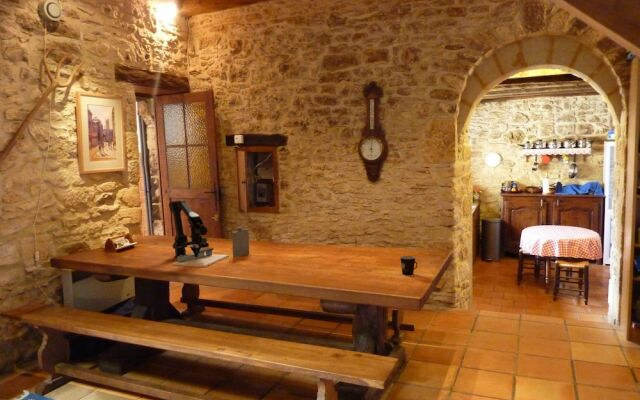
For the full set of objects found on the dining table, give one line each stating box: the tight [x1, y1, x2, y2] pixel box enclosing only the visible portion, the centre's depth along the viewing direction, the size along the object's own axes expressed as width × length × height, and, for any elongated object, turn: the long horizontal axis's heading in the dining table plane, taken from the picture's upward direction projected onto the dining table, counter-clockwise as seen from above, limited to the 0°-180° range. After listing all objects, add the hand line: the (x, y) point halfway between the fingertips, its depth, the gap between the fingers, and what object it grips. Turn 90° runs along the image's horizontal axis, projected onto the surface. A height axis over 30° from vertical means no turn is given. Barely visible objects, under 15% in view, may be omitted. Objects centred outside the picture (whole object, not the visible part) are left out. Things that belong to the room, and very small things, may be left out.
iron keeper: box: [199, 247, 214, 256], centre depth 337 cm, size 12×6×5 cm, turn 144°
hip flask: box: [231, 226, 250, 258], centre depth 343 cm, size 16×4×20 cm, turn 150°
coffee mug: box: [400, 255, 418, 276], centre depth 283 cm, size 12×9×10 cm
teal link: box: [177, 252, 205, 262], centre depth 328 cm, size 20×4×4 cm, turn 143°
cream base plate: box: [172, 253, 229, 268], centre depth 329 cm, size 24×31×1 cm
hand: (196, 257), depth 329 cm, fingers closed
